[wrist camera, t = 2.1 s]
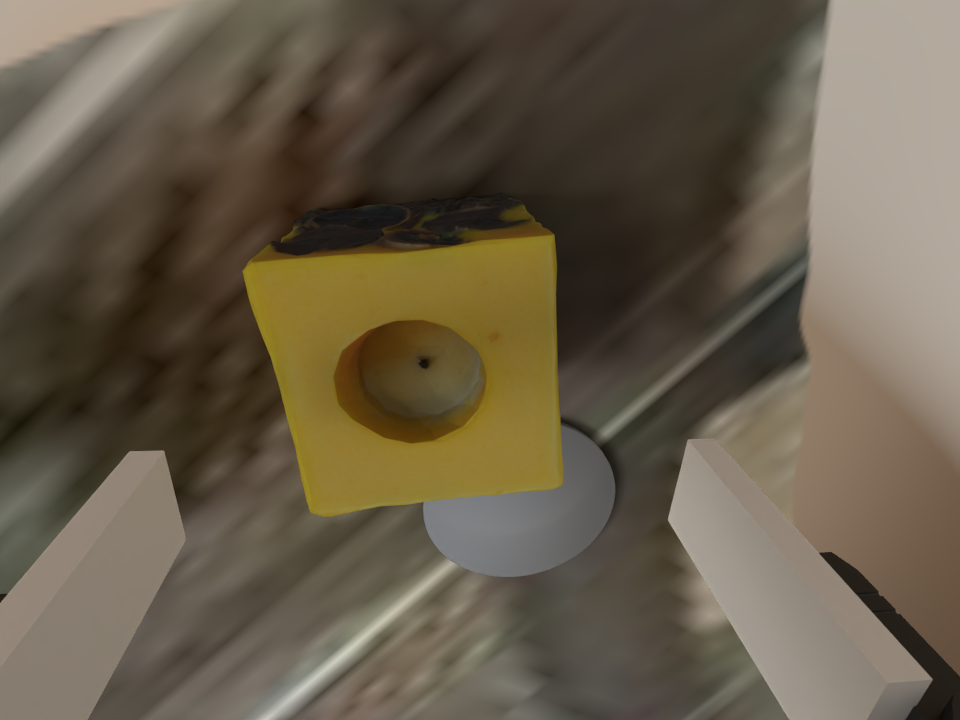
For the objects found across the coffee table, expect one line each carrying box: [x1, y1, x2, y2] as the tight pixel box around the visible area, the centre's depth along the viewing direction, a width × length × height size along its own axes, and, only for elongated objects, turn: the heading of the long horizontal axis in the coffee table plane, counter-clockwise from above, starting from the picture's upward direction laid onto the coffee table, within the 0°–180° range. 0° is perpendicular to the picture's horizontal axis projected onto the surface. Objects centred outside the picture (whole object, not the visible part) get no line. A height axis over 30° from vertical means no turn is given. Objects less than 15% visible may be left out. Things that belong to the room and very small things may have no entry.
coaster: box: [423, 422, 615, 577], centre depth 33 cm, size 12×12×1 cm
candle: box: [242, 194, 563, 517], centre depth 22 cm, size 10×10×10 cm
